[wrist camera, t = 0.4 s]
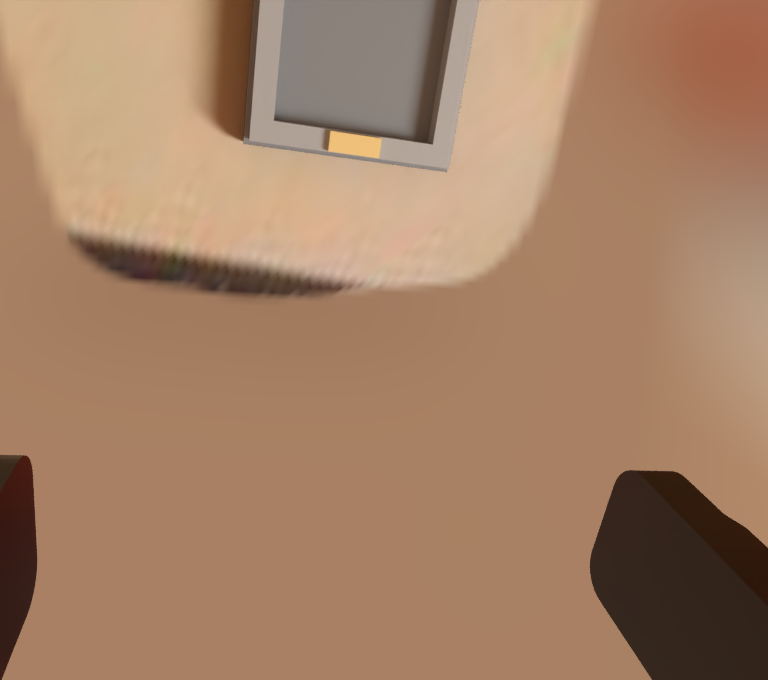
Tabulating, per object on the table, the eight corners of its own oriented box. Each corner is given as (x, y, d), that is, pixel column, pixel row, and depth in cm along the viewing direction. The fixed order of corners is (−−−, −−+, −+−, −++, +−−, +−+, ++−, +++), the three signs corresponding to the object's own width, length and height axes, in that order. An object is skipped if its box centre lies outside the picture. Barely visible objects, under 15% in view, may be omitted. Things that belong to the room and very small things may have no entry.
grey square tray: (261, -100, 28) (262, -116, 25) (478, -50, 30) (498, -61, 28) (243, 141, 31) (243, 146, 29) (440, 169, 33) (454, 175, 31)
